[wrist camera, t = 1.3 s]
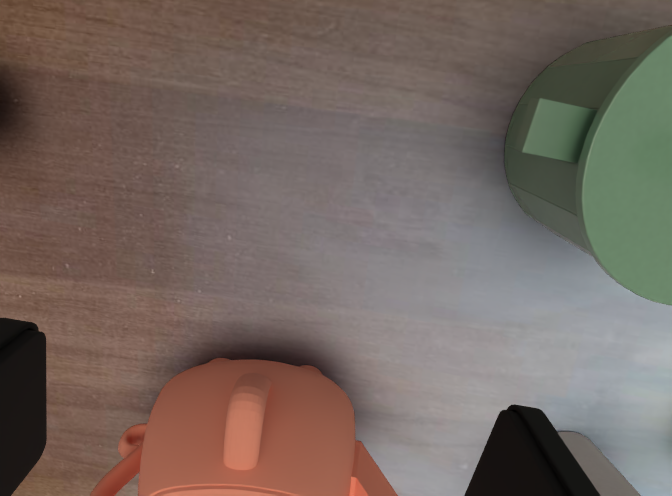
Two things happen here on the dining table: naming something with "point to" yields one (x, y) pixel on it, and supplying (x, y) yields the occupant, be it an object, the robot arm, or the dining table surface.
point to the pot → (564, 127)
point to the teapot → (247, 437)
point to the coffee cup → (597, 466)
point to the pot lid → (632, 178)
